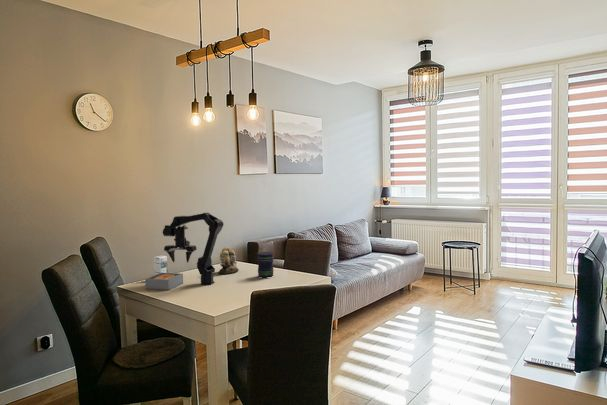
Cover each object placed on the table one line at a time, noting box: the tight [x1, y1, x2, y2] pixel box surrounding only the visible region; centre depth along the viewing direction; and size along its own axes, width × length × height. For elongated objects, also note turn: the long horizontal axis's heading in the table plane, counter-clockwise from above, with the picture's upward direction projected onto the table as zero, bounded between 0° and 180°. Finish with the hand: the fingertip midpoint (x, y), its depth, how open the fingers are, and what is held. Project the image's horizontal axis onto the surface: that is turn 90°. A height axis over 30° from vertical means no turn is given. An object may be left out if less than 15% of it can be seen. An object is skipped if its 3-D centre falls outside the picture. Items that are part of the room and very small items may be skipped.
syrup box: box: [153, 255, 169, 275], centre depth 256 cm, size 6×6×14 cm
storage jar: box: [257, 251, 274, 279], centre depth 260 cm, size 10×10×15 cm
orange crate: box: [154, 274, 175, 280], centre depth 238 cm, size 7×10×5 cm
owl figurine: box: [218, 246, 239, 275], centre depth 275 cm, size 18×12×17 cm, turn 166°
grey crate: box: [144, 272, 184, 291], centre depth 238 cm, size 14×16×6 cm
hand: (180, 262), depth 249 cm, fingers open, 9 cm apart
